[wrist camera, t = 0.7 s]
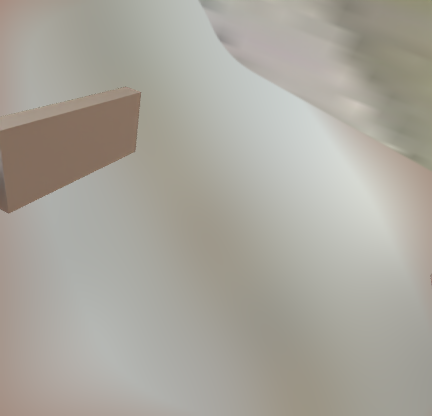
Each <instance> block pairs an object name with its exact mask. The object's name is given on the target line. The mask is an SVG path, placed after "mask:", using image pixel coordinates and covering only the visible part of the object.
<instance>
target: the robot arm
mask: <svg viewBox="0 0 432 416" xmlns="http://www.w3.org/2000/svg"><path fill="white" fill-rule="evenodd" d="M140 97H141V92H139V91H136V90H133V89H131V88H128V87H123V88H118V89H115V90H110V91H106V92H102V93H98V94H94V95H89V96H85V97H81V98H77V99H72V100H68V101H64V102H60V103H56V104H52V105H47V106H43V107H39V108H35V109H31V110H26V111H22V112H18V113H14V114H10V115H5V116H1V117H0V209H1V210H3V211H5V212H7V213H11V212H13V211H15V210H17V209H19V208H21V207H23V206H25V205H27V204H29V203H31V202H33V201H35V200H37V199H39V198H41V197H43V196H45V195H47V194H49V193H51V192H54V191H56V190H57V189H59V188H62V187H64V186H66V185H68V184H70V183H72V182H74V181H76V180H78V179H80V178H82V177H84V176H86V175H88V174H90V173H92V172H94V171H96V170H98V169H100V168H103V167H105V166H107V165H109V164H111V163H113V162H115V161H117V160H119V159H121V158H123V157H125V156H127V155H129V154H131V153H133V152H135V149H136V139H137V128H138V118H139V107H140ZM431 283H432V274H431Z"/></svg>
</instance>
